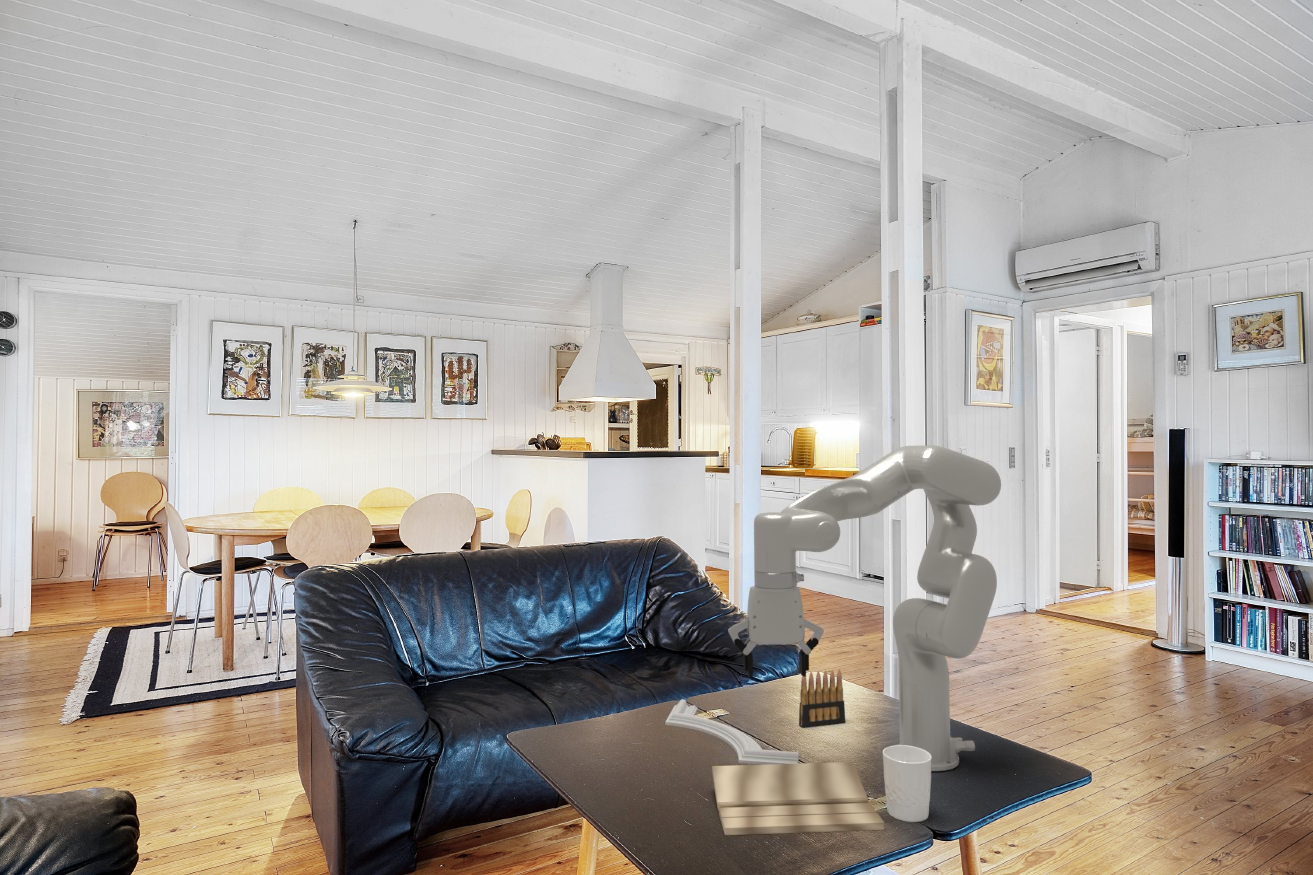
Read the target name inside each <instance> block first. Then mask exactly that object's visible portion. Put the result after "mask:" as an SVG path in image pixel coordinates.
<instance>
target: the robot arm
mask: <svg viewBox="0 0 1313 875" xmlns="http://www.w3.org/2000/svg"><path fill="white" fill-rule="evenodd" d="M919 489H920V490H923V492H924V494H925V496H926V497H927V500H928V501H929V505H930V506H931V510H932V515H933V525H932V528H931V532H930V534H929V538H928V540H927V543H926V547H925V549H924V552H923V553H922V554H923V555H922V557H921V560H920V563H919V566H918V569H917V576H916V579H917V583H918V586H919V587H920V588H921V589H922V591H924V592H926V593H928V594H931V595H934V596H937V597H941V598H944V599H948V600H947V603H946V604H944V603H942V602H938V601H934V600H930V599H926V598H921V597H920V598H919V597H914V598H913V597H912V598H908V599H904V600H903V601H902V602H901V603H900V604H899V605H897V607H896V608H895V611H894V614H893V615H892V616H893V618H892V628H893V634H894V639H895V642H896V649H897V657H898V658H897V659H898V701H899V702H898V703H899V705H898V706H899V708H898V709H899V710H898V711H899V714H898V715H899V743H897V744H896V745H907V746H913V747H917V748H921V749H923V750H925V751H927V752H929V753H930V754H931V757H932V758H931V772H942V771H943V772H945V771H949V770H953V769H954V768H956V767H957V766H959V763H960V757H959V753H960V752H961V751H962V752H963V751H965V752H975V751H976V744H975V741H974V740H963V738H962V737H952V736H951V714H950V712H951V711H950V710H951V708H950V705H951V704H950V702H951V701H950V700H951V699H950V697H951V696H950V670H949V665H948V660H947V658H951V659H965V658H967V657H969V656H970V655H972V654H973V652H974V651H975V650H976V648H977V646H978V644H979V642H980V640H981V637H982V635H983V632H984V629H985V626H986V624H987V620H988V617H989V615H990V611H991V608H992V605H993V602H994V599H995V596H996V592H997V586H998V582H997V581H998V580H997V573H996V570H995V567H994V566H993V564H992V562H990V561H989V560H988V559H987V558H986V557H985V556H981V555H979V554H976V553H973V550H974V546H975V542H976V540H977V535H978V527H977V526H978V524H977V521H976V518H975V516H974V512H972V508H971V507H970V506H985V505H989V504H991V503H993V502H994V501H995V500H996V499H997V497H999V494H1000V492H1001V489H1002V480H1001V477H1000V475H999V472H998V471H997V470H996V468H995V467H994V466H993V465H991V464H990V463H988V462H986V461H983V460H982V459H978V458H975V457H972V456H969V455H966V454H964V453H961V452H959V451H955V450H953V449H950V448H947V447H944V446H939V445H904V446H901V447H897V448H896V449H895V450H892V451H891V452H889V453H887V454H886V455H885V456H883V457H881V458H879V459H878V460H876V461H875V462H873V463H871V464H870V465H868V466H867V467H865V468H864V469H862V470H861V471H859V472H857V473H855V474H854V475H852V476H849V477H847V478H844V479H841V480H838V481H837V482H833V483H831V484H830V485H826V486H824V487H821V488H819V489H815V490H814V491H811V492H810V493H807V494H805V495H804V496H802V497H799V498H798V499H797V500H796V501H794V502H792V503H791V504H788V506H786V507H785V508H783V509H782V510H781V511H780V512H779V511H778V512H775V511H773V512H762V513H759V514H757V515H755V517H754V519H753V555H754V556H753V559H754V560H753V562H754V565H753V566H754V567H753V568H754V569H753V570H754V581H753V582H754V585H753V586H751V587H750V588H749V591H748V592H749V593H748V600H747V612H746V618H745V619H743V620H742V621H740V622H738V623H736V624H734V625H733V626H730V627H729V628H728V629H727V630H728V631H727V632H728V634H729V636H730V638H731V640H732V642H733V643H734V645H735V646H736V648H738V649H739V650H740V651H741V652H742V653H743V671H744V672H746V673H747V675H748V678H752V677H753V676H754V674H753V673H754V672H753V671H754V668H753V667H754V664H753V663H754V662H753V661H754V660H753V658H754V656H753V654H752V651H753V649H754V648H755V647H756V646H757V645H797V646H798V647H799V648H800V650H799V651H798V671H799V673H800V675H801V677H802V676H803V677H806V678H807V671H808V672H809V671H810V654H811V653H812V650H814V649H815V648H816V647H817V646H818V645H819V644H820V643H819V642H820V640H821V638H822V637H823V635H824V632H825V630H824V629H823V627H822V626H819V625H818V624H815V623H813V622H811V621H810V620H808V619H805V616H804V607H803V606H804V605H803V598H802V594H801V589H800V587H799V586H798V584H799V583H800V582H804V581H805V575H804V573H799V572H797V568H796V566H797V557H796V556H797V553H796V552H798V551H799V552H810V553H811V552H812V553H822V552H823V553H824V552H827V551H828V550H831V549H833V548H834V547H835V546H836V545H837V543H838V542H839V540H840V537H841V528H840V524H839V522H840V521H845V520H851V519H852V520H853V519H861V518H865V517H869V516H873V515H876V514H879V513H881V512H882V511H884V510H885V509H887V508H888V507H889V506H890V505H892V504H894V503H895V502H897V501H898V500H900V499H902V498H903V497H904V496H906V495H908V494H909V493H911V492H912V491H914V490H919ZM805 628H806V629H807V630H810V631H811V632H812V636H811V637H810V638H809V639H808V640H807V641H806V642H805V637H806V634H805V632H806V630H805ZM744 630H746V634H747V637H748V638H747V639H746V641H745V642H744V641H743V640H742V639H740V637H739V633H740V632H742V631H744ZM946 657H947V658H946Z"/></svg>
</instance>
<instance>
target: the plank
mask: <svg viewBox="0 0 1313 875" xmlns="http://www.w3.org/2000/svg"><path fill="white" fill-rule="evenodd" d="M855 765H856V764H855V762H854V761H839V762H834V761H833V762H807V763H804V762H803V763H798V764H767V765H760V764H744V765H743V764H742V765H737V764H735V765H734V764H733V765H712V766H711V774H712V779H713V781H712V782H713V787H714V794H715V801H716V806H717V811H718V812H719V808H731V807H761V806H792V805H822V804H852V803H870V802H869V801H870V800H869V798H868V796H867V793H866V791H865V788H864V785H863V783H862V781H861V778H860V776H859V773H858V770H857V767H856V766H855Z"/></svg>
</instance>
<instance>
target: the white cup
mask: <svg viewBox="0 0 1313 875" xmlns="http://www.w3.org/2000/svg"><path fill="white" fill-rule="evenodd" d="M931 758H932V757H931V754H930V753H929V752H927V751H925V750H923V749H921V748H917V747H913V746H907V745H897V744H895V745H890V746H887V747H885V748H884V749H882V760H883V762H882V764H883V779H884V792H885V796H886V797H885V799H886V811H887V813H888V814H889V816H891V817H892V818H894V819H896V820H899V821H902V822H909V823H916V822H918V823H919V822H923V821H925V820H927V819H928V818H929V814H930V801H931V787H932V786H931V784H932V771H931Z"/></svg>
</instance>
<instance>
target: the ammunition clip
mask: <svg viewBox="0 0 1313 875" xmlns="http://www.w3.org/2000/svg"><path fill="white" fill-rule="evenodd" d="M814 678H815V680H814ZM807 681H808V682H807ZM800 682H801V684H800V695H799V696H800V697H799V698H800V702H799V712H798V713H799V716H798V725H799V727H801V728H802V729H807V728H816V727H826V726H833V725H843V724H846V712H845V711H846V709H845V707H846V706H845V700H844V688H843V687H844V686H843V676H842V671H841V669H840V668H838V670H837V674H836V676H835V672H834V670H833V669H832V670H830V675H829V677H828V673H827V670H824V671H823V675H822V678H821V674H820V671H817V673H816V676H815V677H814V673H813V672H812V671H810V672H809V675H808V680H807V676H806V677H803V676H802V675H801V681H800Z"/></svg>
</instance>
